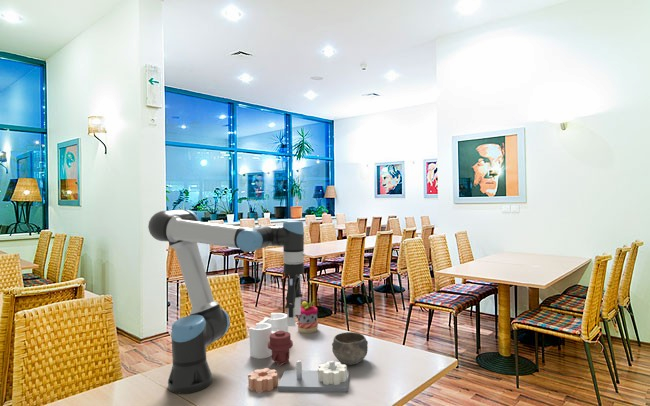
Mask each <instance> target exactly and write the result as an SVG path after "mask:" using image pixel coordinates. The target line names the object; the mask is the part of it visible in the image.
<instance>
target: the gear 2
mask: <svg viewBox="0 0 650 406" xmlns="http://www.w3.org/2000/svg"><path fill="white" fill-rule="evenodd" d="M329 362H330V361H326V362H325V363H324V364H323V363H320V364H319V365H318V368H317V371H318V380H319V382H322V381H323V384H325V385H329V384H334V385H339V384H340V383H341V382H345V381H346V380H347V371H348V370H347V369H348V368H347V366H348V365H347V364H343V363H342V362H340V361H335V369H333V370H331V369H330V368H329Z"/></svg>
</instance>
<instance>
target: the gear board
mask: <svg viewBox="0 0 650 406" xmlns="http://www.w3.org/2000/svg"><path fill="white" fill-rule="evenodd" d="M328 362H329V368H330V369H331V370H333V369H335V362H336V361H335V360H330V361H328ZM302 364H303V363H302V360H296V362H295V366H296V367H295V368H296V369H285V370H284V372H283V374H282V376H281V379H280V380H279V381H278V386H277V391H278V392H279V391H280V392H281V391H284V392H285V391H286V392H326V393H327V392H328V393H329V392H331V393H332V392H333V393H348V388H349V381H350V380H349V378H350V371H349V370H347V380H346V381H345V382H341V383H340V384H339V385H334V384H329V385H325V384H323V381H322V382H319V380H318V370H307V369H306V370H303V365H302Z"/></svg>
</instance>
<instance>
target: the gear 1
mask: <svg viewBox="0 0 650 406" xmlns="http://www.w3.org/2000/svg"><path fill="white" fill-rule="evenodd" d="M247 377H248V378H247V380H248V381H247V382H248V383H247V384H248V387H249V388H248V390H250V391H251V392H252V391H256V393H263V392H265V391H267V392H271V391H273V390H274V388H275V387H276V388H278V384H279V379H278V378H279V377H278V371H277V370H276V369H275V368H274V369H270V368H269V367H265V368H263V369H260V368H259V369H258V368H257V369H253V372H249V373H248V375H247Z"/></svg>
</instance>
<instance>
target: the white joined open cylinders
mask: <svg viewBox="0 0 650 406" xmlns="http://www.w3.org/2000/svg"><path fill="white" fill-rule="evenodd" d="M248 330H249V332H248V334H249V335H248V336H249V357H250V358H253V359H259V360H260V359H266V358H269V357H272V350H270V349H269V348H268V342H269V341H270V334H272V333H274V332H276V331H284V332H288V333H289V326H287V313H285V312H271V313H270V317H263V320H261V321H260V322H256V324H255V328H254V327H249V328H248Z"/></svg>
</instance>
